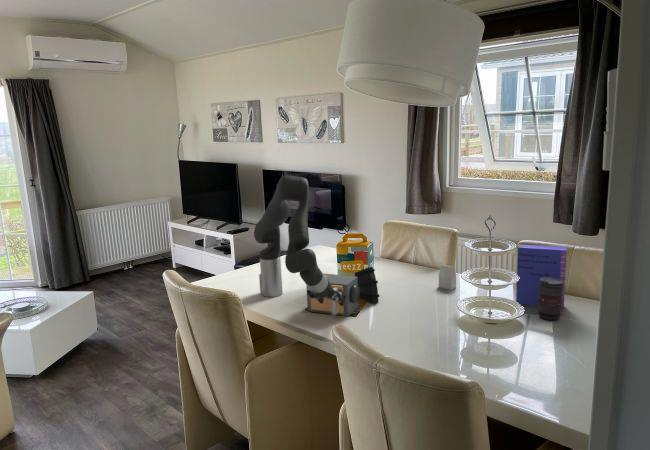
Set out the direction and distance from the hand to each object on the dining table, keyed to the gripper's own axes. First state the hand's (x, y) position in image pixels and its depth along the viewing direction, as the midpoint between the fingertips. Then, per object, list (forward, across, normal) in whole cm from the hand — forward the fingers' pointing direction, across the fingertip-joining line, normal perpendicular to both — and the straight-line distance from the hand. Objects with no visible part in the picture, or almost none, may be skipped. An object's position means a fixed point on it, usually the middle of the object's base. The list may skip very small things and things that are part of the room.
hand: (332, 302), depth 197 cm
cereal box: (+35, -72, -25) cm, 84 cm away
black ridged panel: (+24, -4, -13) cm, 27 cm away
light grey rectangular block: (+42, -33, -32) cm, 62 cm away
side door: (+6, +5, +2) cm, 8 cm away
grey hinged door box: (+13, +5, -3) cm, 14 cm away
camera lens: (+25, -76, -15) cm, 81 cm away
